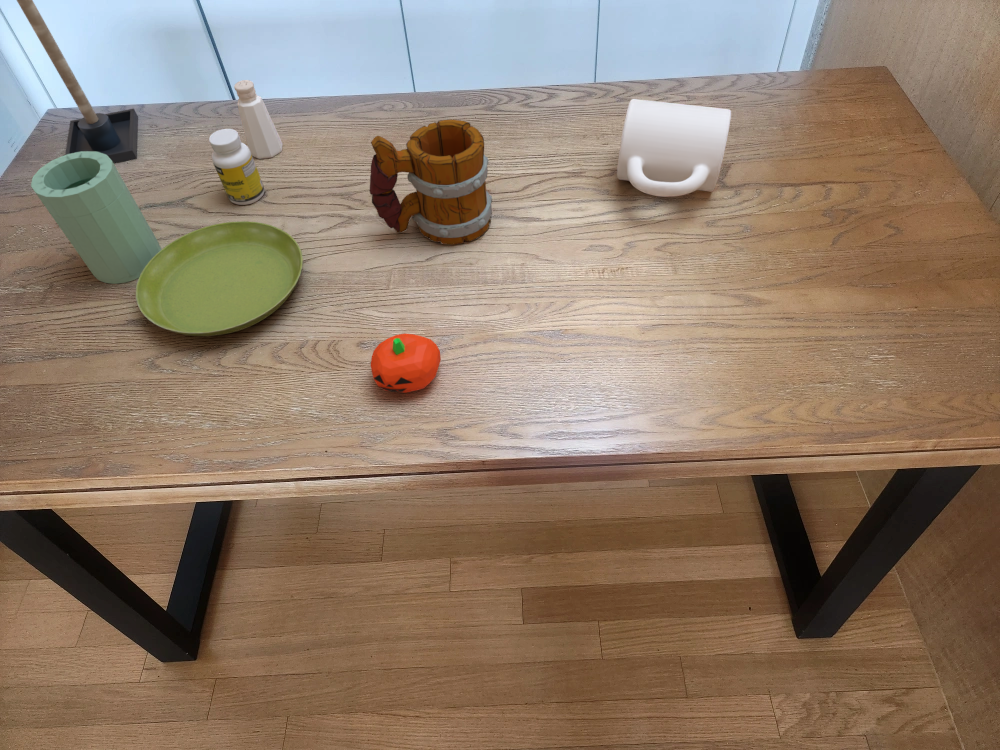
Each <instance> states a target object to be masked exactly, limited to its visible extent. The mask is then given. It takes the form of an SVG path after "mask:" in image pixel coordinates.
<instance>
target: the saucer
mask: <svg viewBox="0 0 1000 750" xmlns="http://www.w3.org/2000/svg"><path fill="white" fill-rule="evenodd" d="M161 249H162V250H160V251H159V252H158V253H157V254H156V255H155V256H154V257H153V258H152V259H151V260H150V261H149V262H148V264H147V265H146V266H145V268H144V269H143V271H142V273H141V274H140V277H139V278H138V279H137V282H136V287H135V300H136V304H137V307H138V309H139V310H140V312H141V314H142V315H143V316H144V317H145V318H146V320H148V321H149V322H150V323H152V324H154V325H156V326H158V327H159V328H162V329H164V330H167V331H168V332H169V331H170V332H173V333H176V334H180V335H186V336H191V337H192V336H193V337H211V336H212V337H213V336H220V335H221V336H222V335H227V334H232V333H235V332H239V331H242V330H245V329H247V328H250V327H252V326H254V325H256V324H258V323H260V322H261V321H263V320H264V319H266V318H268V317H269V316H270V315H272V314H273V313H274V312H276V311H277V310H278V309H279V308H280V307H281V306H283V304H284V303H285V302H286V301H287V300H288V299H289V297H290V296H291V295H292V293H293V291H294V290H295V288H296V287H297V284H298V282H299V280H300V277H301V274H302V270H303V266H304V259H303V252H302V250H301V247H300V245H299V243H298V242H297V241H296V239H295V238H294V237H293V236H292V235H291V234H290V233H288V232H287V231H285V230H284V229H281V228H280V227H277V226H275V225H273V224H268V223H264V222H260V221H259V222H258V221H248V220H247V221H246V220H244V221H243V220H242V221H241V220H237V221H228V222H221V223H216V224H211V225H207V226H203V227H202V228H201V227H200V228H198V229H195V230H193V231H190V232H188V233H186V234H184V235H182V236H180V237H178V238H177V239H175V240H173V241H172V242H170V243H169V244H167V245H165V247H163V248H161Z"/></svg>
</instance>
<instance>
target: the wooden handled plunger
mask: <svg viewBox="0 0 1000 750" xmlns="http://www.w3.org/2000/svg"><path fill="white" fill-rule="evenodd" d="M16 2H17V3H18V5H19V7H20V9H21V11H22V13H23V14H24V15H25V17H26V19H27V21H28V23H29V24H30V26H31V28H32V29H33V31H34V33H35V35H36V36H37V39H38V40H39V42H40V44H41V45H42V47H43V49H44V51H45V53H46V55H47V56H48V57H49V59H50V61H51V63H52V65H53V66H54V68H55V71H56V72H57V73H58V75H59V77H60V78H61V80H62V82H63V84H64V85H65V87H66V88H67V91H68V92H69V94H70V96H71V98H72V99H73V101H74V103H75V104H76V106H77V108H78V110H79V112H80V113H81V115H82V116H83V117H82V118H80V119H81V120H80V121H79V122H78V127H79V128H80V130H81V132H82V133H83V135H84V137H85V139H86V140H87V142H88V144H89V145H90V147H91V149H93V150H95V151H106V150H109V149H112V148H114V147H115V146H117V145H118V144H119V142H120V138H119V136H118V134H117V132H116V131H115V129H114V127H113V125H112V123H111V121H110V119H109V118H108V116H107V115H106V114H107V113H102V112H97V113H96V112H95V109H94V108H93V106H92V104H91V102H90V100H89V99H88V97H87V95H86V94H85V92H84V90H83V88H82V86H81V85H80V83H79V81H78V79H77V77H76V76H75V73H74V72H73V70H72V69H71V67H70V64H69V63H68V61H67V59H66V58H65V56H64V54H63V52H62V50H61V49H60V47H59V45H58V44H57V43H58V42H56V39H55V38H54V36H53V35H52V33H51V30H50V29H49V27H48V25H47V23H46V22H45V20H44V18H43V16H42V15H41V12H40V11H39V9H38V8H37V5H36V4H35V2H34V1H33V0H16Z"/></svg>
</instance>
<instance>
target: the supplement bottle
mask: <svg viewBox="0 0 1000 750" xmlns="http://www.w3.org/2000/svg"><path fill="white" fill-rule="evenodd" d="M208 141H209V144H210V146H211V149H212V153H211V161H212V164H213V167H214V168H215V170H216V174H217V175H218V178H219V180H220V182H221V185H222V186H223V187H222V188H223V189H224V191H225V194H226V196H227V198H228V199H229V201H230V202H231V203H233V204H235V205H240V206H244V205H245V206H247V205H250V204H254V203H256V202H258V201H259V200H260V199H262V198H263V196H264V194H265V186H264V183H263V180H262V178H261V175H260V173H259V170H258V167H257V164H256V162H255V160H254V156H252V154H251V152H250V149H249V148H248V145H247V144H245V143H244V142H242V140H241V137H240V134H239V132H238V131H237V130H235V129H233V128H221V129H218V130H215V131H214V132H212V133H211V134H210V135H209V138H208Z"/></svg>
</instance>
